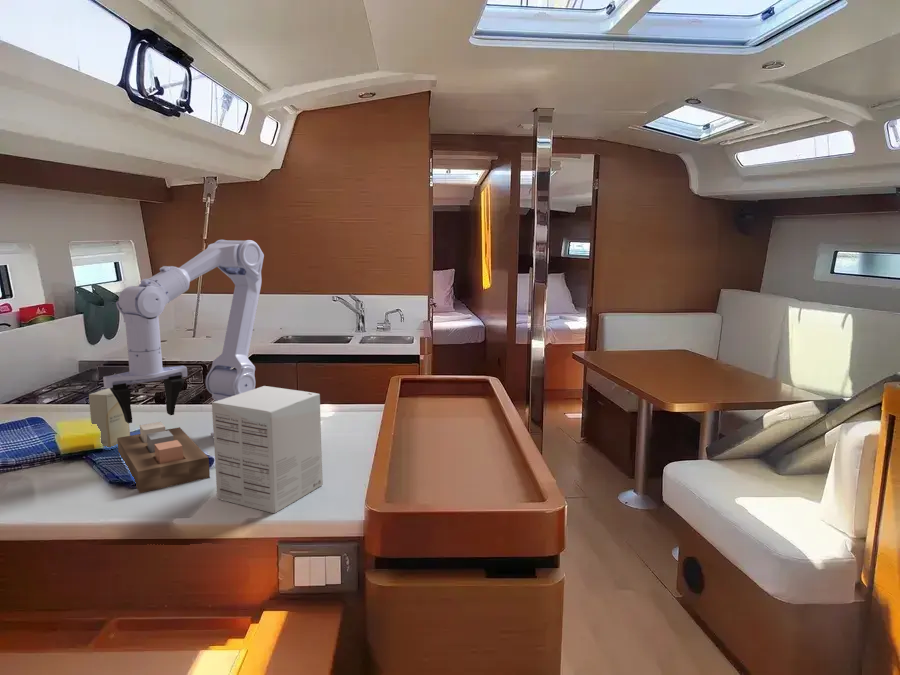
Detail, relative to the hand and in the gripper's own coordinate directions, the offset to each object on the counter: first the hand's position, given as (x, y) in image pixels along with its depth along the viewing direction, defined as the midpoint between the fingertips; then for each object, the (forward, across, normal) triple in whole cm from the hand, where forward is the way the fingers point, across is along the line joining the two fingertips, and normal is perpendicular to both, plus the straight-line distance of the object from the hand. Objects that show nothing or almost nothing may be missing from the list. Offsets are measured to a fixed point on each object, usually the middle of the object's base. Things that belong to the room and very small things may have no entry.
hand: (150, 417), depth 119 cm
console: (+10, -1, +1) cm, 10 cm away
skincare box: (+10, +3, -18) cm, 21 cm away
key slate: (+7, -1, +1) cm, 7 cm away
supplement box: (+10, -12, +27) cm, 31 cm away
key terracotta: (+7, 0, +8) cm, 11 cm away
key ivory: (+7, -2, -6) cm, 9 cm away
